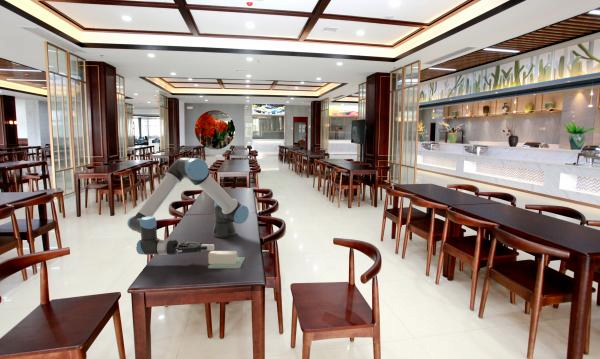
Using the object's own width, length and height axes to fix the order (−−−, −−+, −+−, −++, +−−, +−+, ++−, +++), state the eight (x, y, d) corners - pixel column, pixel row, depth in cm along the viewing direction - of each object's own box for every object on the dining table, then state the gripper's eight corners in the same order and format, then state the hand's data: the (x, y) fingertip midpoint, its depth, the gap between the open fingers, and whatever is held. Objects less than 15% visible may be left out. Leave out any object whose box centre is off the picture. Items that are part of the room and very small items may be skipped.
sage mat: (215, 258, 187) (215, 257, 186) (244, 258, 186) (244, 257, 186) (208, 268, 173) (207, 267, 173) (240, 268, 172) (239, 267, 172)
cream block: (210, 250, 181) (237, 251, 181) (210, 260, 182) (237, 260, 182) (207, 254, 176) (235, 254, 176) (208, 263, 177) (235, 263, 177)
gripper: (173, 249, 186) (217, 250, 185) (163, 258, 173) (210, 258, 172) (172, 236, 185) (216, 236, 184) (162, 244, 172) (210, 244, 171)
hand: (213, 247), depth 178 cm, fingers closed
